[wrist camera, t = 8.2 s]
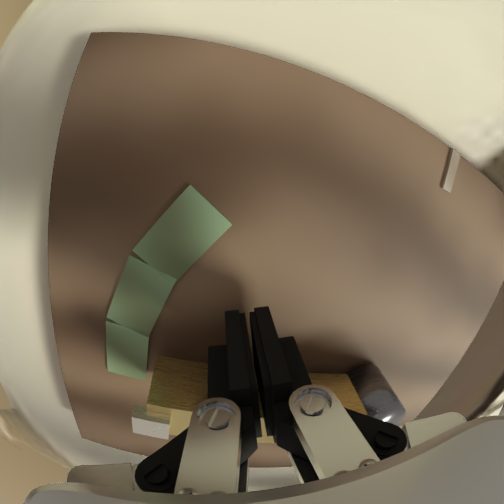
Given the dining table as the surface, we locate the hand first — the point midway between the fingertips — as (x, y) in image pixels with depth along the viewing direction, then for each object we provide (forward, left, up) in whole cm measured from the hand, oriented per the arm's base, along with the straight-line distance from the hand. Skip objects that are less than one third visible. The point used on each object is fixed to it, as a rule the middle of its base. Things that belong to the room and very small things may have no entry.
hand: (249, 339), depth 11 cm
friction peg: (-3, -2, -1) cm, 4 cm away
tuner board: (-2, -4, -3) cm, 5 cm away
